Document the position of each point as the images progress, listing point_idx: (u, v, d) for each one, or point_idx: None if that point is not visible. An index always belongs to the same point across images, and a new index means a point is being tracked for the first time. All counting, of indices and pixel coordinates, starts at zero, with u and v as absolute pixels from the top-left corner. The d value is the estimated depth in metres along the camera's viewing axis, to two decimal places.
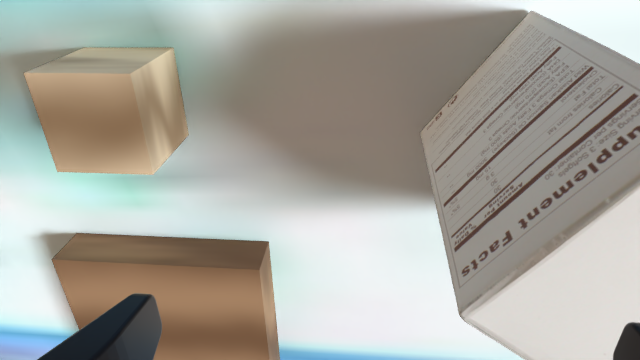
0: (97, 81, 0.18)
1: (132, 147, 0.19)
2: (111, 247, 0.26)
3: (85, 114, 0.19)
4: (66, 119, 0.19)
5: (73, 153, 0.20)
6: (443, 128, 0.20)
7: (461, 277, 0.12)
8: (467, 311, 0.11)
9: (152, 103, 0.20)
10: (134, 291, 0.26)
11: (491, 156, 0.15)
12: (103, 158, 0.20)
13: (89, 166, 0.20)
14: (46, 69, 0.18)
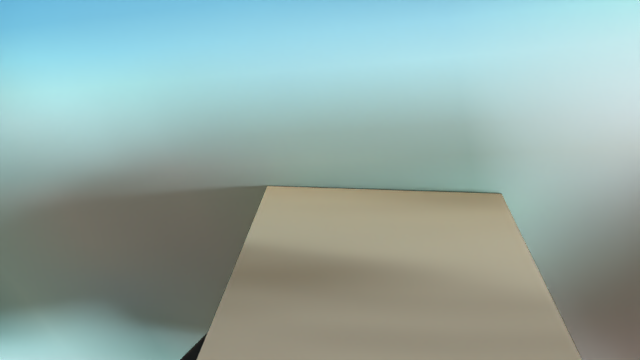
0: None
1: None
2: None
3: None
4: None
5: None
6: None
7: None
8: None
9: None
10: None
11: None
12: None
13: None
14: (253, 352, 0.05)
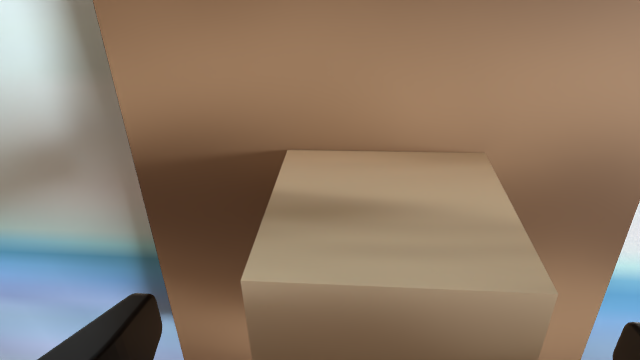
0: (449, 306, 0.07)
1: None
2: None
3: None
4: None
5: None
6: None
7: None
8: None
9: None
10: (307, 78, 0.10)
11: None
12: None
13: None
14: (289, 260, 0.07)
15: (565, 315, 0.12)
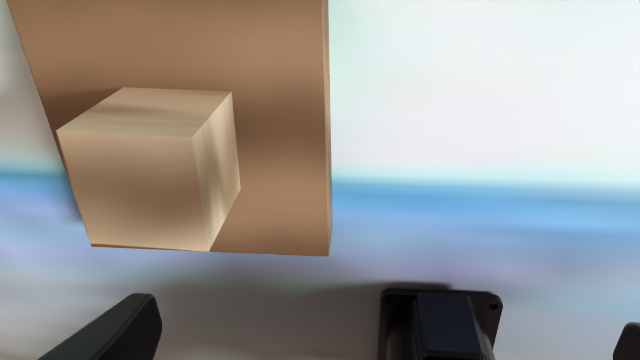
0: (149, 144, 0.14)
1: (186, 221, 0.16)
2: None
3: (131, 181, 0.15)
4: (105, 186, 0.15)
5: (111, 224, 0.16)
6: None
7: None
8: None
9: (210, 166, 0.16)
10: (129, 47, 0.18)
11: None
12: (148, 230, 0.16)
13: (130, 239, 0.16)
14: (84, 125, 0.15)
15: (308, 195, 0.20)
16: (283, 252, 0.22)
